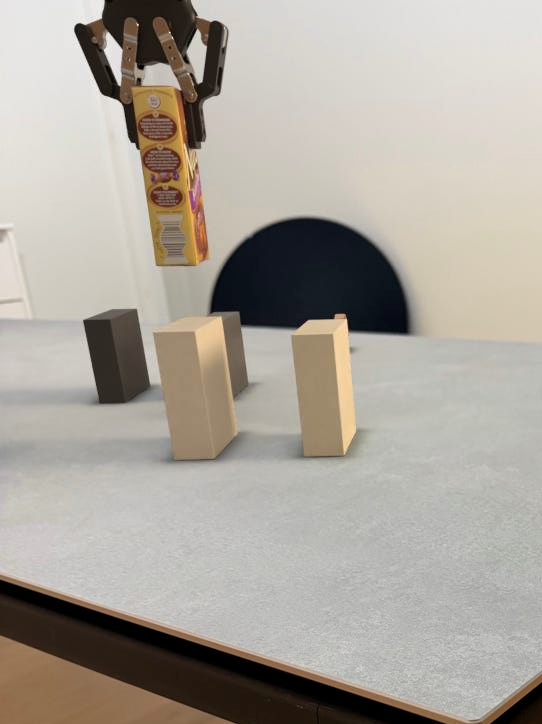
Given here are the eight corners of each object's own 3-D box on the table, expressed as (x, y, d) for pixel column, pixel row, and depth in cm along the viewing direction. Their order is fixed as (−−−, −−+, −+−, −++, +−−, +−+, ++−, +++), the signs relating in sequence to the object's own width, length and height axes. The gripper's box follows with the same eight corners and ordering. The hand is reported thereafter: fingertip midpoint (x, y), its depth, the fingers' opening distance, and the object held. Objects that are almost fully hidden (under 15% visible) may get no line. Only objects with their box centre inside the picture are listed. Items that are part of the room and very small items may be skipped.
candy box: (201, 266, 92) (174, 84, 85) (155, 268, 91) (124, 85, 85) (214, 259, 100) (190, 91, 93) (171, 261, 99) (145, 93, 93)
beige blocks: (174, 460, 85) (152, 332, 80) (201, 435, 93) (183, 317, 88) (344, 456, 85) (332, 327, 80) (356, 431, 93) (346, 313, 88)
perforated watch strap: (331, 353, 133) (328, 316, 131) (336, 348, 138) (333, 311, 135) (350, 353, 133) (347, 316, 131) (355, 347, 137) (352, 311, 135)
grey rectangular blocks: (99, 403, 107) (82, 319, 103) (126, 386, 116) (111, 309, 112) (231, 399, 107) (219, 316, 103) (249, 383, 115) (238, 305, 111)
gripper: (39, -78, 80) (80, 150, 88) (208, -82, 80) (235, 146, 88) (72, -59, 87) (108, 152, 94) (228, -62, 87) (252, 148, 94)
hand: (169, 148), depth 91 cm, fingers closed on candy box, 4 cm apart
